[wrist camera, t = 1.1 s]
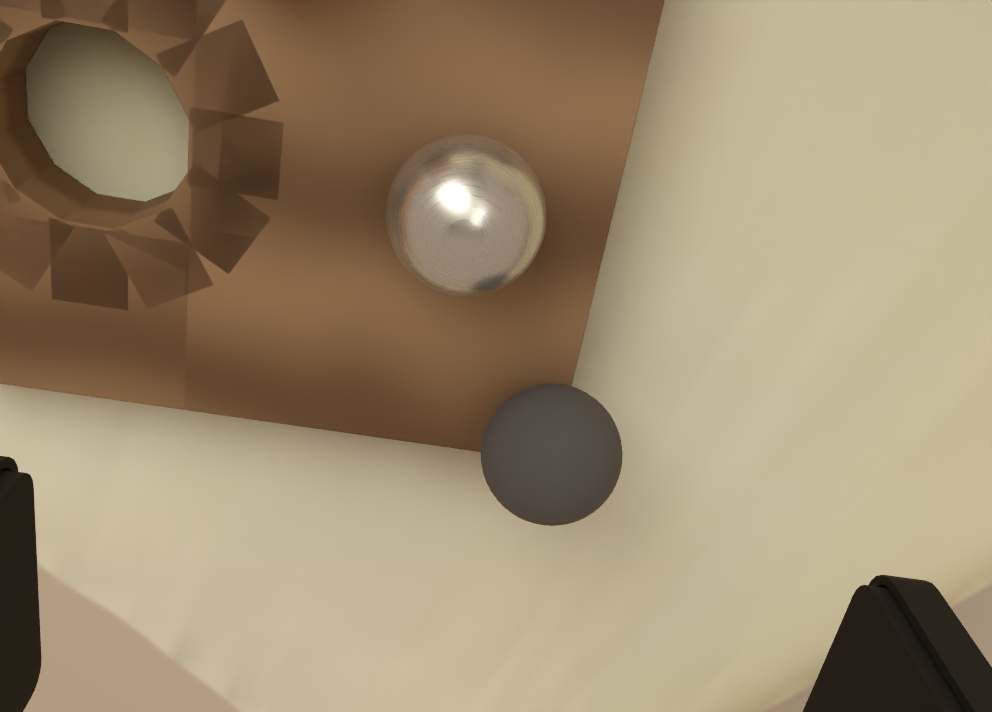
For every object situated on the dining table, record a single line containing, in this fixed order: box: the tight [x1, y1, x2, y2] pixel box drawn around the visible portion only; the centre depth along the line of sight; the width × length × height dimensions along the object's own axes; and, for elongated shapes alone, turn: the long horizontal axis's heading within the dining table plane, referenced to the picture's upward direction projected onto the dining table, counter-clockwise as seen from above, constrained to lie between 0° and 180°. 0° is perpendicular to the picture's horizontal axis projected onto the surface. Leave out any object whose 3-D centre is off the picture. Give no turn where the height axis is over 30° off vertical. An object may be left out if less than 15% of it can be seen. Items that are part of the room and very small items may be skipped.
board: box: [0, 0, 664, 452], centre depth 25 cm, size 16×19×2 cm
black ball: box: [481, 384, 622, 526], centre depth 26 cm, size 4×4×4 cm
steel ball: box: [386, 134, 546, 296], centre depth 23 cm, size 4×4×4 cm
